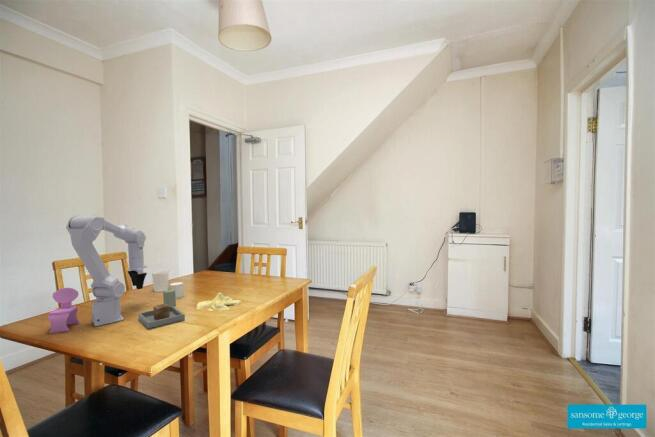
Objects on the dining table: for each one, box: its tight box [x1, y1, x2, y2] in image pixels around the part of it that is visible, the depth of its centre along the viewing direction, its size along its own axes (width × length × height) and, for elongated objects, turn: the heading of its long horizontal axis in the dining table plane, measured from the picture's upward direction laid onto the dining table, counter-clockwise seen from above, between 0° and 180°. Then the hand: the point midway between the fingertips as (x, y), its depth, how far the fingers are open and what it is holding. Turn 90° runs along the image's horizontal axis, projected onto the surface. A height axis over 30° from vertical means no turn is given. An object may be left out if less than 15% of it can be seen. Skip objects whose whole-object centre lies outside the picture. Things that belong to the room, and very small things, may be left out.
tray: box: [137, 306, 185, 330], centre depth 127 cm, size 13×15×2 cm
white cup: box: [151, 270, 169, 293], centre depth 171 cm, size 8×8×10 cm
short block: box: [153, 303, 170, 320], centre depth 127 cm, size 4×4×5 cm
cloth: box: [196, 292, 242, 312], centre depth 144 cm, size 22×19×6 cm
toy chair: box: [48, 287, 81, 334], centre depth 120 cm, size 8×9×15 cm
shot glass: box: [168, 281, 185, 300], centre depth 158 cm, size 7×7×7 cm
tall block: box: [162, 289, 177, 307], centre depth 145 cm, size 4×4×7 cm
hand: (137, 287), depth 142 cm, fingers open, 7 cm apart
